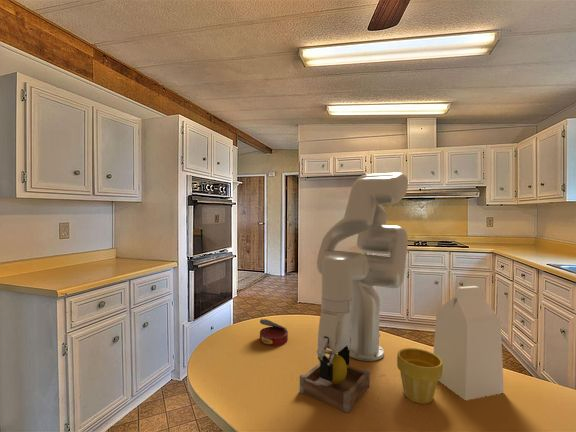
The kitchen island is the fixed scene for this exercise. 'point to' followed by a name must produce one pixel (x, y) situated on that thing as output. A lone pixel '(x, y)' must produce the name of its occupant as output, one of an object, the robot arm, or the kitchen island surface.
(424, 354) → the plant pot
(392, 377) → the kitchen island surface
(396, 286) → the robot arm
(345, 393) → the wooden square tray
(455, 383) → the milk
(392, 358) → the kitchen island surface
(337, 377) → the lemon
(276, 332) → the canned food
